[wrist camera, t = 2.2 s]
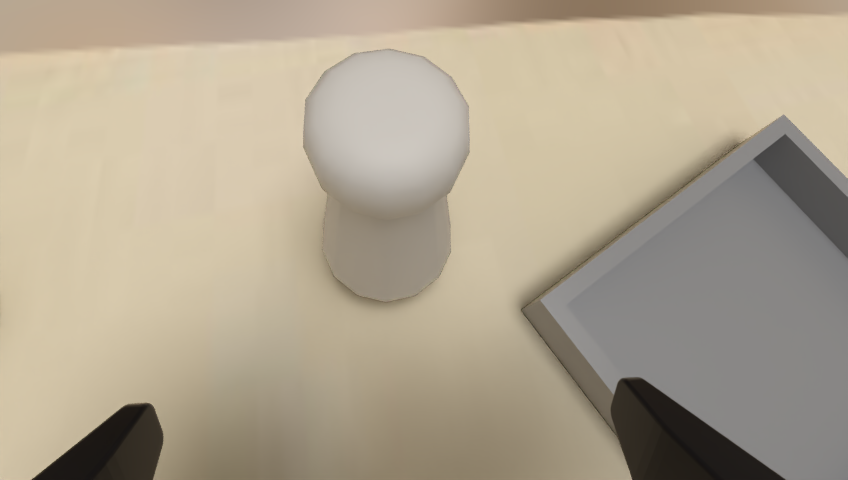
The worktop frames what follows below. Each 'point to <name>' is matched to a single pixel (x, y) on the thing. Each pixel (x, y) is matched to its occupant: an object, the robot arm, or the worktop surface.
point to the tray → (726, 305)
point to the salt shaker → (386, 168)
